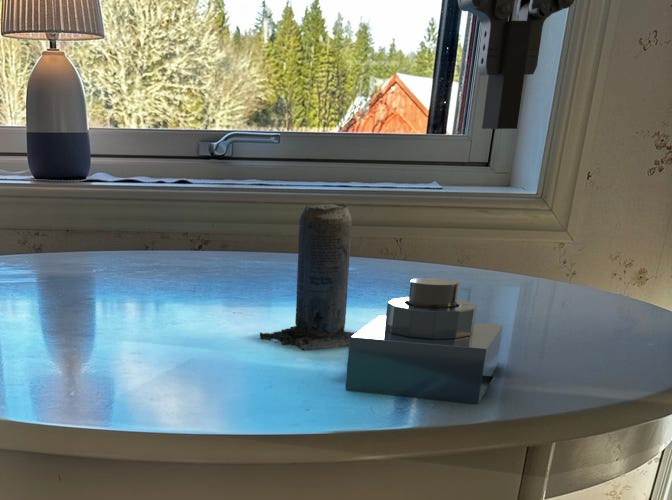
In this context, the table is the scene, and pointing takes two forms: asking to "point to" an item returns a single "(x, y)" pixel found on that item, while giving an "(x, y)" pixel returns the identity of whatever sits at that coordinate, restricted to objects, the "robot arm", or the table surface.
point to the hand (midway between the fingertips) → (499, 128)
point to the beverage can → (321, 280)
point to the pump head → (433, 293)
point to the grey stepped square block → (424, 353)
